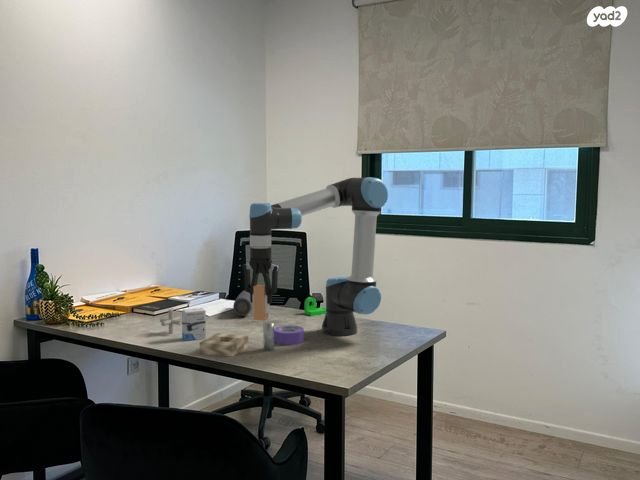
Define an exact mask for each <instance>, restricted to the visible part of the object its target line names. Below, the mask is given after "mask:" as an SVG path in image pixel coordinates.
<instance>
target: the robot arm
mask: <svg viewBox="0 0 640 480" xmlns="http://www.w3.org/2000/svg"><path fill="white" fill-rule="evenodd" d="M388 191H389V190H388V187H387V185H386V184H385V183H384V181H383V180H381V179H380V178H377V177H371V176H370V177H369V176H368V177H349V178H345V179H344V180H339V181H336V182H334V183H331V184H328V185H327V186H326V187H325V188H324V189H320V190H316V191H313V192H310V193H307V194H304V195H300V196H297V197H293V198H290V199H288V200H284V201H281V202H280V201H279V202H277V203H275V204H271V203H270V202H268V203H267V202H260V203H259V202H256V203H255V202H254V203H252V204H250V206H249V216H248V217H249V246H250V248H249V258H250V259H249V262H248V263H244V264H242V266H241V267H242V269H243V274H244V277H243V279H244V290H245V291H246V292H249V293H250V302H251V303H253V309H252V313H253V314H254V289H253V286H256V285H258V280H259V275H260V274H261V275H262V277H263V282H264V285H265V288H266V293H267V294H266V295H265V313H266V314H267V313H269V314H270V312H271V310H270V306H271V305H270V304H272V303H273V294H275V293H277V292H278V279H279V278H278V277H279V276H278V275H279V274H278V273H279V269H280V265H277V264H274V263H273V261H272V247H271V246H272V231H273V230H292V229H297V228H299V227H300V226H301V224H302V219H303V218H302V217H303V216H305V215H309V214H313V213H316V212H318V211H322V210H325V209H327V208H330V207H331V208H334V209H335V208H338V207H351V211H352V213H353V214H354V227H353V228H354V229H353V231H354V232H353V244H352V262H351V274H350V276H338V277H330V278H327V280H326V283H325V307H326V314H324V317H323V321H322V324H321V333H323V334H325V335H329V336H340V337H341V336H351V335H355V334H357V333H358V323H357V320H356V317H355V314H354V313H356V314H359V315H371V314H373V313H375V311H376V310H378V308H379V306H380V304H381V302H382V301H381V300H382V293H381V291H380V289H379V288H378V287H377V280H376V278H375V277H374V265H375V264H374V263H375V249H376V248H375V246H376V235H377V234H376V231H377V219H378V218H377V217H378V216H379V215H380V214H381V213H382V207H384V206H385V205H386V203H387V202H388V197H389V192H388ZM251 269H252V273H251ZM270 269H271V278H270ZM251 275H252V276H251ZM251 277H252V278H251Z"/></svg>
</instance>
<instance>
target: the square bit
mask: <svg viewBox="0 0 640 480" xmlns="http://www.w3.org/2000/svg"><path fill="white" fill-rule="evenodd" d="M253 289H254V313H253V320H254V321H262V322H263V321H266V320H268V319H269V314H270V312H269V313H267V314H266V313H265V295H266V294H267V293H266V288H265V284H258V283H257V285H256V286H253Z"/></svg>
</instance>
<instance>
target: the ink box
mask: <svg viewBox="0 0 640 480" xmlns="http://www.w3.org/2000/svg"><path fill="white" fill-rule="evenodd" d="M206 312H207V311H206V310H205V308H203V307H197V308H185V309H181V321H182V324H181V335H182V336H181V337H182V339H183V340H184V341H185V342H189V341H197V340H206V339H207V333H206V332H207V329H206V327H207V326H206V321H207V320H206V319H207V318H206V314H207V313H206Z"/></svg>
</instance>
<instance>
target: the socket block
mask: <svg viewBox="0 0 640 480" xmlns="http://www.w3.org/2000/svg"><path fill="white" fill-rule="evenodd" d="M248 347H249V335H241V334H231V333H221V332H220V333H219V332H217V333H215V334H213V335H211V336H209V337H206V339H203V340H202V341H199V354H205V355H213V354H214V356H222V355H223V356H225V357H233V356H235V355H237V354H238V352H239V353H241V352H242V351H244V350H245V349H247V348H248Z"/></svg>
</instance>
